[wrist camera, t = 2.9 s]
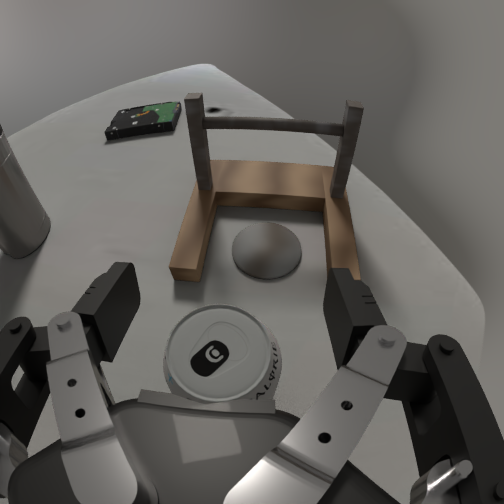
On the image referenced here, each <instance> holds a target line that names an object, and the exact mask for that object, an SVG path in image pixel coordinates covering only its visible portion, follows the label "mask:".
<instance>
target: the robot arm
mask: <svg viewBox="0 0 504 504" xmlns="http://www.w3.org/2000/svg"><path fill="white" fill-rule="evenodd" d="M49 229H50V218H49V217H48V215H47V213H46V212H45V210H44V208H43V207H42V205H41V203H40V202H39V200H38V198H37V196H36V195H35V193H34V191H33V189H32V188H31V186H30V184H29V182H28V180H27V178H26V177H25V175H24V173H23V171H22V169H21V167H20V165H19V163H18V161H17V159H16V157H15V155H14V153H13V151H12V149H11V147H10V145H9V143H8V141H7V138H6V136H5V134H4V132H3V129H2V127H1V125H0V249H1V250H2V251H3V252H4V253H5V254H10V255H11V257H14V258H22V257H24V256H27V255H29V254H30V253H32V252H33V251H34V250H35V249H37V248H38V247H39V245H40V244H41V243H42V242H43V241H44V239H45V238H46V236H47V234H48V232H49ZM89 287H90V288H88V289H87V290H86V292H85V294H83V296H82V297H81V298H80V299H79V301H78V302H77V303H76V305H75V306H74V308H73V309H72V310H71V312H63V313H60V314H58V315H56V316H55V317H53V318H52V319H51V320H50V322H49V324H48V326H45V327H34V328H33V325H32V323H31V321H30V320H29V319H28V318H27V317H18V318H15V319H13V320H11V321H10V322H8V323H7V324H6V325H5V327H4V328H3V329H2V331H1V332H0V498H8V501H9V504H400V503H399V502H398V501H397V500H395V499H394V498H393V497H392V496H390V495H389V494H388V493H387V492H385V491H384V490H383V489H382V488H380V487H379V486H378V485H377V484H376V483H374V482H373V481H372V480H371V479H370V478H368V477H367V476H366V475H365V474H364V473H362V472H361V471H360V470H359V469H358V468H357V467H355V466H354V465H353V464H352V463H351V462H350V461H349V460H348V458H349V456H350V455H351V453H352V452H353V450H354V449H355V447H356V445H357V444H358V442H359V440H360V439H361V437H362V435H363V434H364V432H365V430H366V428H367V427H368V425H369V423H370V421H371V419H372V418H373V416H374V414H375V412H376V410H377V408H378V407H379V405H380V403H381V401H382V399H383V398H386V399H393V400H400V401H402V404H403V408H404V411H405V415H406V419H407V423H408V427H409V431H410V435H411V439H412V443H413V448H414V452H415V457H416V461H417V466H418V471H419V476H420V478H419V479H418V480H417V481H416V482H415V483H414V484H413V486H412V488H411V492H410V504H504V440H503V437H502V434H501V432H500V429H499V427H498V424H497V422H496V419H495V417H494V414H493V412H492V410H491V407H490V405H489V403H488V400H487V398H486V396H485V394H484V392H483V389H482V387H481V385H480V383H479V381H478V379H477V377H476V375H475V373H474V371H473V369H472V367H471V365H470V363H469V361H468V359H467V357H466V355H465V353H464V351H463V349H462V348H461V346H460V344H459V343H458V342H457V341H456V340H455V339H453V338H451V337H449V336H447V335H440V334H439V335H434V336H432V337H431V338H430V339H429V341H428V343H427V345H422V344H416V343H410V342H407V341H406V338H405V336H404V335H403V333H402V332H400V331H399V330H398V329H396V328H394V327H391V326H387V323H386V321H385V319H384V317H383V315H382V313H381V311H380V309H379V307H378V305H377V304H376V301H375V299H374V297H373V295H372V293H371V291H370V289H369V287H368V286H367V285H365V284H364V283H363V282H362V281H361V280H354V278H353V276H352V274H351V272H350V270H349V268H330V269H329V272H328V278H327V284H326V290H325V296H324V303H323V311H324V316H325V320H326V324H327V328H328V332H329V336H330V340H331V344H332V348H333V353H334V357H335V361H336V365H337V369H338V371H337V373H336V374H335V375H334V377H333V378H332V380H331V381H330V382H329V384H328V385H327V386H326V388H325V389H324V390H323V392H322V393H321V394H320V396H319V397H318V398H317V399H316V401H315V402H314V403H313V405H312V406H311V407H310V408H309V410H308V411H307V412H306V413H305V415H304V416H303V417H302V418H301V419H300V418H298V417H297V416H294V415H292V414H290V413H287V412H284V411H281V410H276V409H275V400H251V399H238V400H232V401H226V402H219V403H211V404H202V403H198V402H195V401H192V400H189V399H186V398H183V397H180V396H177V395H174V394H171V393H163V392H156V391H149V390H143V389H141V391H140V394H139V397H138V398H137V399H130V400H125V401H122V402H119V403H115V401H114V398H113V396H112V393H111V391H110V388H109V386H108V383H107V380H106V378H105V375H104V372H103V370H102V367H101V365H100V362H101V361H107V362H112V361H113V359H114V357H115V355H116V353H117V351H118V349H119V347H120V345H121V343H122V340H123V338H124V336H125V334H126V332H127V330H128V328H129V326H130V324H131V322H132V320H133V318H134V316H135V314H136V312H137V310H138V308H139V306H140V291H139V287H138V282H137V277H136V272H135V267H134V265H133V263H127V262H115V263H114V264H113V265H112V266H111V268H110V269H109V270H108V271H107V273H103V274H102V275H101V276H99V277H98V278H96V279H95V280H94V281H93V283H92V284H91V285H90V286H89ZM19 365H20V367H21V368H22V370H23V371H24V374H23V376H22V378H21V380H20V381H19V383H18V385H17V387H16V389H15V391H14V390H13V388H12V385H11V380H12V376H13V375H14V373H15V371H16V369H17V368H18V366H19ZM50 393H51V398H52V403H53V408H54V413H55V417H56V422H57V426H58V430H59V434H60V439H59V440H57V441H56V442H54V443H53V444H51V445H49V446H48V447H46V448H44V449H43V450H41V451H40V452H38V453H36V454H35V455H33V456H31V457H30V458H28V452H27V447H28V444H29V442H30V439H31V437H32V434H33V432H34V429H35V427H36V424H37V422H38V419H39V417H40V415H41V412H42V410H43V408H44V405H45V403H46V401H47V399H48V397H49V394H50Z"/></svg>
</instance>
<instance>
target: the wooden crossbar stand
mask: <svg viewBox="0 0 504 504" xmlns="http://www.w3.org/2000/svg"><path fill="white" fill-rule="evenodd" d="M184 102H185V109H186V115H187V122H188V129H189V135H190V142H191V148H192V154H193V160H194V166H195V172H196V178H197V181H196V184H195V187H194V189H193V192H192V195H191V198H190V201H189V204H188V207H187V210H186V213H185V216H184V219H183V222H182V225H181V229H180V232H179V235H178V238H177V241H176V245H175V248H174V251H173V254H172V258H171V261H170V265H169V269H170V271H171V274H172V276H173V278H174V280H183V281H194V282H200V279H201V274H202V269H203V265H204V260H205V256H206V251H207V247H208V243H209V238H210V234H211V230H212V226H213V221H214V217H215V213H216V209H217V205H219V206H241V207H259V208H276V209H291V210H305V211H318V212H322V213H323V224H324V235H325V248H326V263H327V278H328V272H329V269H330V268H349V270H350V272H351V274H352V276H353V278H354V280H361V279H360V271H359V264H358V257H357V250H356V243H355V237H354V231H353V225H352V219H351V213H350V208H349V203H348V197H347V192H346V184H347V180H348V176H349V172H350V168H351V164H352V159H353V155H354V151H355V147H356V142H357V138H358V133H359V128H360V124H361V119H362V115H363V109H364V108H363V106H362V104H361V102H356V101H350V100H346V106H345V112H344V117H343V124H336V123H328V122H318V121H308V120H296V119H281V118H261V117H205V113H204V104H203V94H202V93H188V94H187V96H186V97H185V99H184ZM206 129H253V130H275V131H291V132H304V133H315V134H325V135H334V136H340V140H339V145H338V150H337V155H336V160H335V165H334V167H329V166H319V165H307V164H294V163H280V162H262V161H238V160H210V156H209V148H208V139H207V131H206ZM232 254H233V258H234V261H235V263H236V264H237V266H238V267H239V268H240V269H241V270H242V271H243V272H245V273H246V274H248V275H250V276H253V277H255V278H260V279H275V278H279V277H282V276H284V275H286V274H288V273H290V272H291V271H292V270H293V269H294V268H295V267H296V266H297V264H298V262H299V260H300V256H301V245H300V242H299V240H298V238H297V237H296V235H295V234H294V233H293V232H292V231H290V230H289V229H288V228H286V227H284V226H282V225H279V224H275V223H257V224H253V225H251V226H248V227H246V228H245V229H243V230H242V231H241V232H240V233H239V234H238V235H237V236H236V238H235V239H234V242H233V245H232Z"/></svg>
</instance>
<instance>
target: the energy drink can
mask: <svg viewBox="0 0 504 504" xmlns="http://www.w3.org/2000/svg"><path fill="white" fill-rule="evenodd" d="M281 368H282V358H281V352H280V348H279V345H278V343H277V340H276V338H275V337H274V335H273V334H272V332H271V331H270V329H269V328H268V327H267V326H266V325H265V324H264V323H263V322H261V321H260V320H259V319H257V318H256V317H255V316H253V315H252V314H251V313H249V312H248V311H246V310H244V309H242V308H239V307H237V306H233V305H229V304H211V305H206V306H202V307H199V308H197V309H195V310H193V311H191V312H189V313H188V314H186V315H185V316H184V317H183V318H182V319H181V320H180V321H179V322H178V323H177V324H176V325H175V327H174V328H173V330H172V331H171V333H170V336H169V338H168V341H167V346H166V349H165V354H164V359H163V369H164V375H165V379H166V382H167V384H168V387H169V389H170V391H171V392H172V394H174V395H177V396H180V397H183V398H186V399H189V400H192V401H195V402H198V403H202V404H211V403H219V402H226V401H232V400H238V399H251V400H272V399H273V397H274V394H275V391H276V388H277V385H278V382H279V378H280V374H281Z"/></svg>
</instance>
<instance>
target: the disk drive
mask: <svg viewBox="0 0 504 504" xmlns="http://www.w3.org/2000/svg"><path fill="white" fill-rule="evenodd" d="M181 110H182V109H181V103H180V102H166V103H159V104H153V105H146V106H140V107H134V108H129V109H124V110H119V111H118V112H117V114H116V116H115V117H114V118H113V120H112V121H111V125H110V126H109V127H107V129H106V130H105V135H106V138H107V140H113V139H119V138H124V137H130V136H137V135H143V134H150V133H158V132H166V131H174V130H175V127H176V124H177V121H178V118H179V115H180V113H181Z"/></svg>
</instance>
